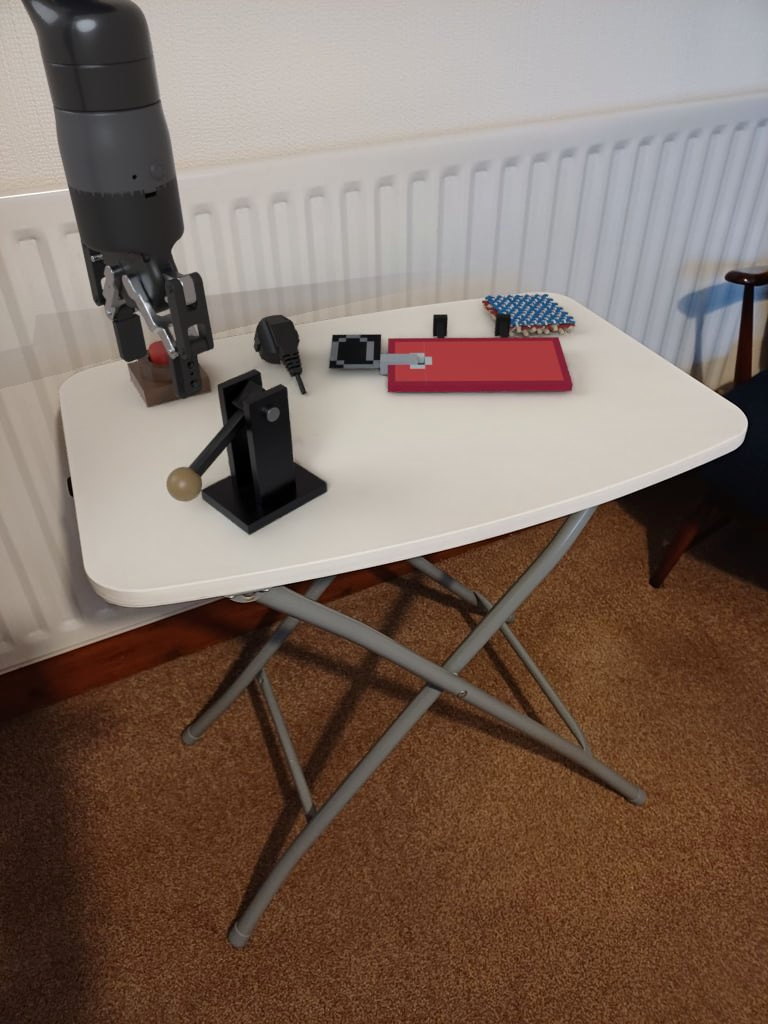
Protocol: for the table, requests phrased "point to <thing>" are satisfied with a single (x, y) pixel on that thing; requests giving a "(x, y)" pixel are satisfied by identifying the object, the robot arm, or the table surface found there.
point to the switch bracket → (260, 460)
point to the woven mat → (530, 313)
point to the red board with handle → (458, 360)
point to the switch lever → (210, 451)
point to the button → (158, 353)
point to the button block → (158, 381)
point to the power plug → (279, 345)
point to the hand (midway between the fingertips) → (161, 375)
